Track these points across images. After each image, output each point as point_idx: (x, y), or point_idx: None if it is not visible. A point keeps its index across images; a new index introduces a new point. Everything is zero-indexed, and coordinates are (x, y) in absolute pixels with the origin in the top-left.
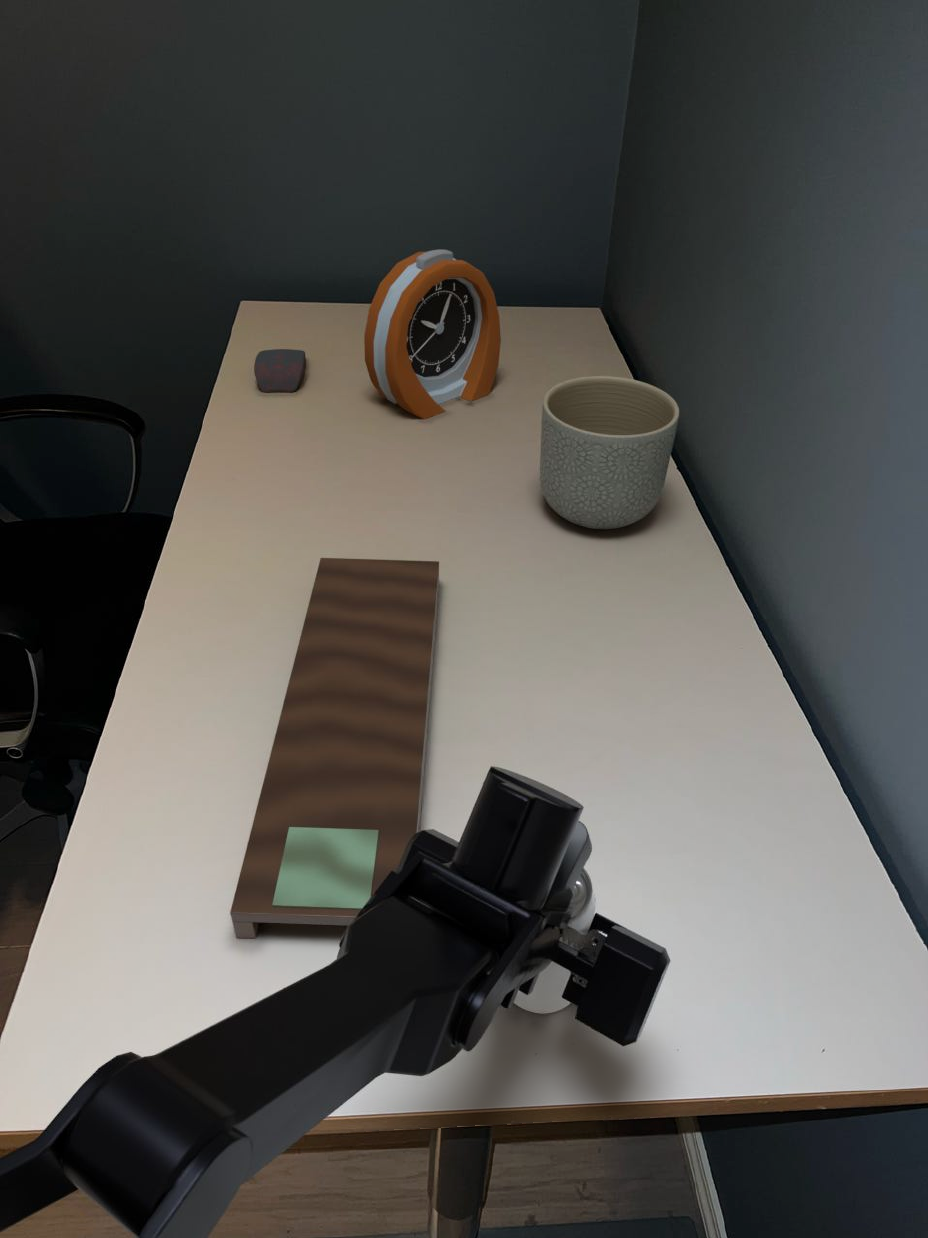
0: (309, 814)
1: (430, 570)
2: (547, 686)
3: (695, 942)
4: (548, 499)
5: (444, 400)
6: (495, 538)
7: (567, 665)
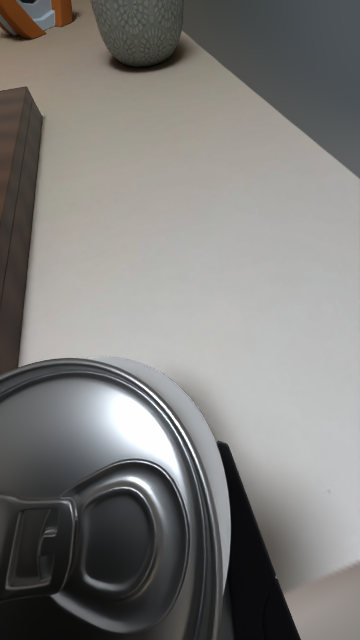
0: None
1: (19, 92)
2: (127, 161)
3: (303, 346)
4: (107, 40)
5: (45, 28)
6: (81, 85)
7: (140, 145)
